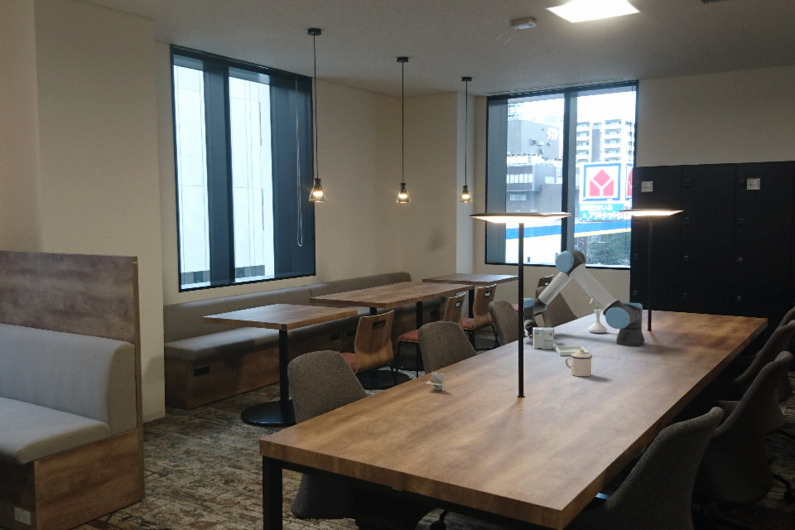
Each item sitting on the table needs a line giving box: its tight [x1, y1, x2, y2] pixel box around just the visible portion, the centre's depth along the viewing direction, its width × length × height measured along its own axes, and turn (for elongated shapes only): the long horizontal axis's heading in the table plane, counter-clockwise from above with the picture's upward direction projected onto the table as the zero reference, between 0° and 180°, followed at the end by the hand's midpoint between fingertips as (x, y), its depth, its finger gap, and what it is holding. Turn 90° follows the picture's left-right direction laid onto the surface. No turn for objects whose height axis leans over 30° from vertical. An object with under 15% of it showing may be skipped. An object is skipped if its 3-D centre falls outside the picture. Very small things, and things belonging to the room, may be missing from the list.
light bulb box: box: [532, 327, 555, 350], centre depth 368 cm, size 11×7×11 cm, turn 84°
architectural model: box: [425, 371, 445, 392], centre depth 280 cm, size 3×7×7 cm, turn 63°
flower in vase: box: [587, 298, 608, 334], centre depth 414 cm, size 13×11×25 cm
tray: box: [553, 345, 590, 357], centre depth 355 cm, size 15×17×2 cm
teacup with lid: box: [564, 349, 593, 377], centre depth 306 cm, size 12×9×12 cm
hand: (539, 333), depth 375 cm, fingers open, 13 cm apart
